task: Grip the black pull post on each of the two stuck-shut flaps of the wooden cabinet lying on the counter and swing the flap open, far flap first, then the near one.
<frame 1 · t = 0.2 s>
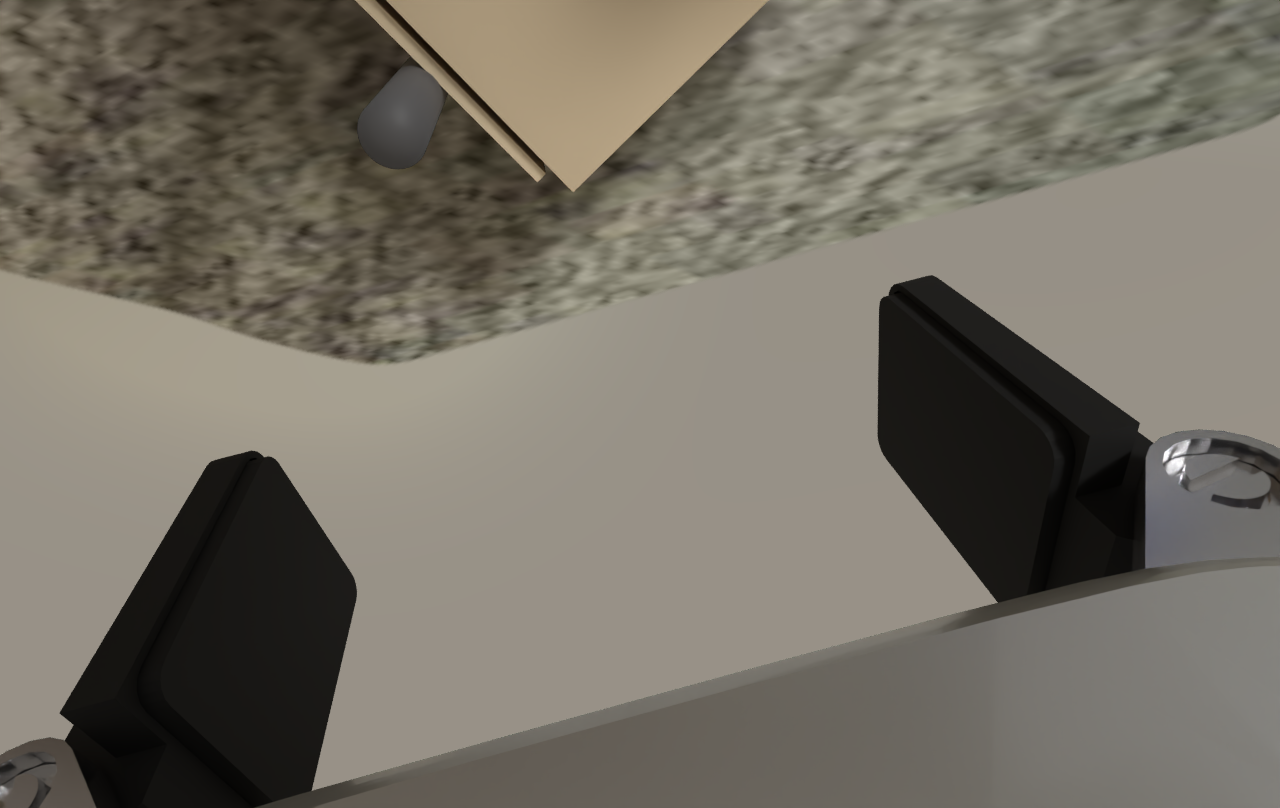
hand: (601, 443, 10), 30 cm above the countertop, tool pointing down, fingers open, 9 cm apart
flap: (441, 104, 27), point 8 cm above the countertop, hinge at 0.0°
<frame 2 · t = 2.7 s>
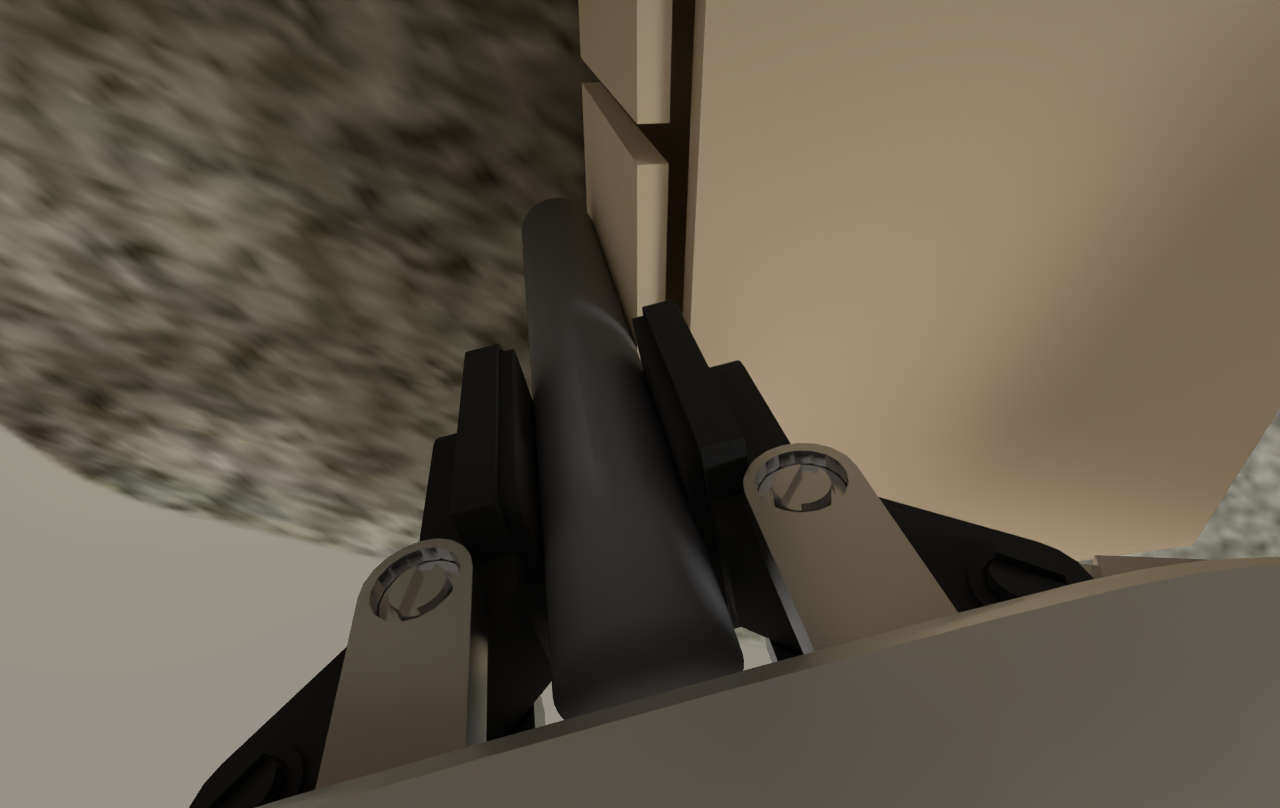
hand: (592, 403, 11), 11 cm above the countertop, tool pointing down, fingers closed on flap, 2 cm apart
wooden cabinet: (852, 62, 19), on the countertop
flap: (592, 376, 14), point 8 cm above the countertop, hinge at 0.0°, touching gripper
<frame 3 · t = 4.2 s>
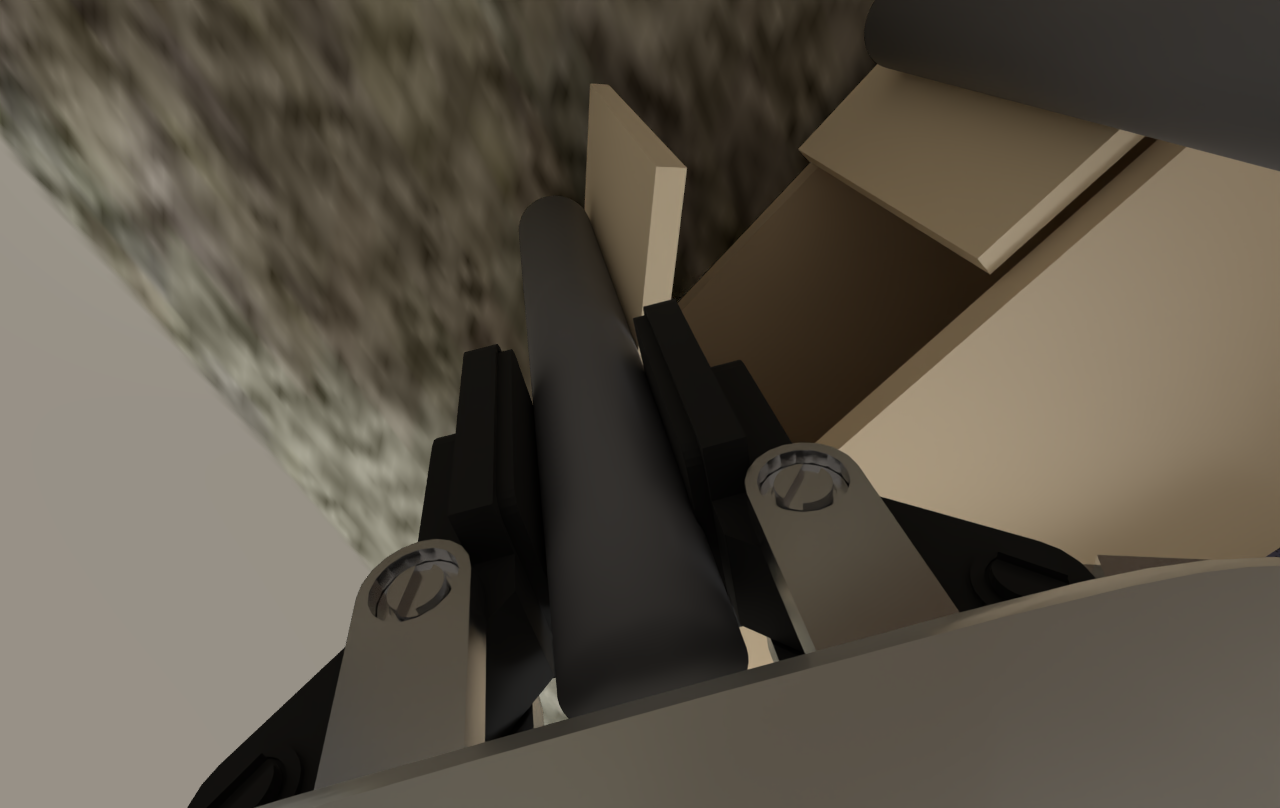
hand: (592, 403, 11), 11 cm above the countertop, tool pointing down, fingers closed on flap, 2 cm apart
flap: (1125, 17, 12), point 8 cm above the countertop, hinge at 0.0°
wooden cabinet: (919, 300, 24), on the countertop
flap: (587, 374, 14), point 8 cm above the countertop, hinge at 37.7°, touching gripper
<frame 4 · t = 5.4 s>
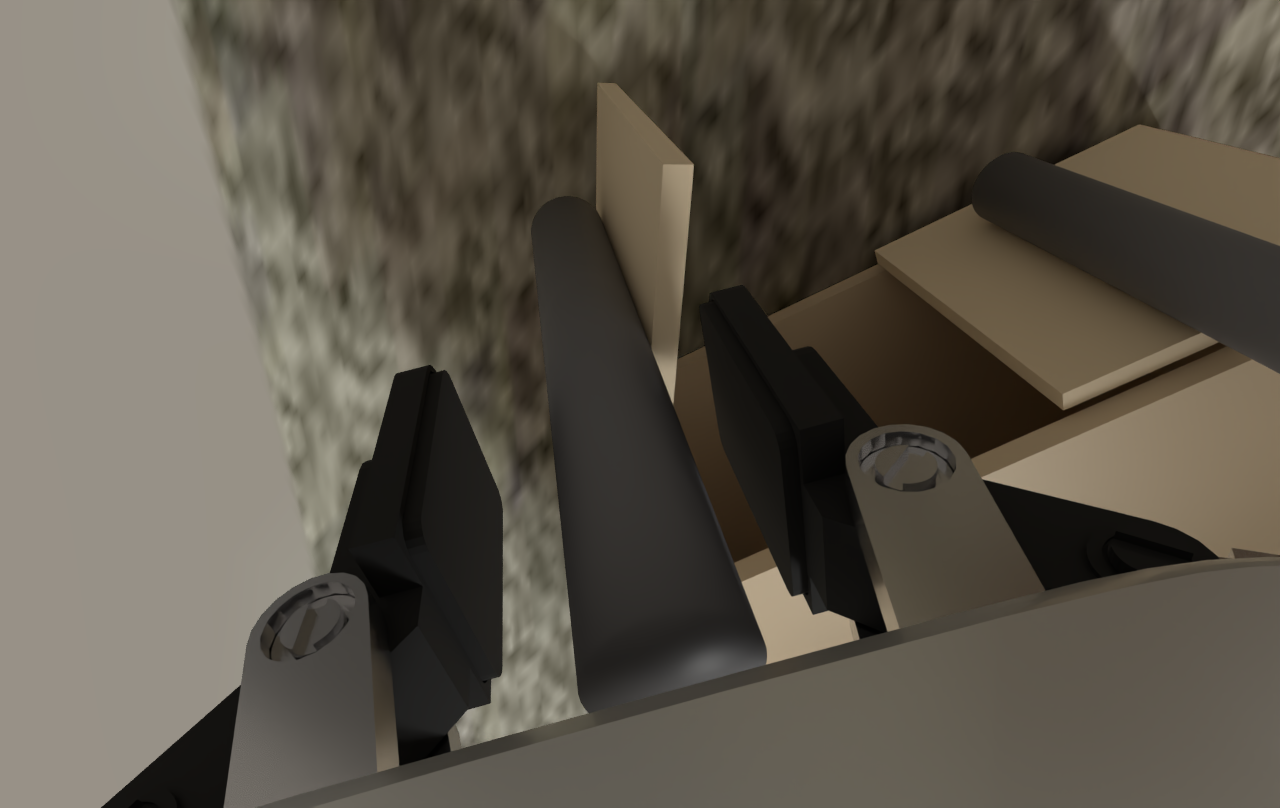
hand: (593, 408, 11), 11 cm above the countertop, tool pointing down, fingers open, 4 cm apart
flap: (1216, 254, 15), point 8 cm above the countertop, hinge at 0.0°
wooden cabinet: (901, 416, 27), on the countertop
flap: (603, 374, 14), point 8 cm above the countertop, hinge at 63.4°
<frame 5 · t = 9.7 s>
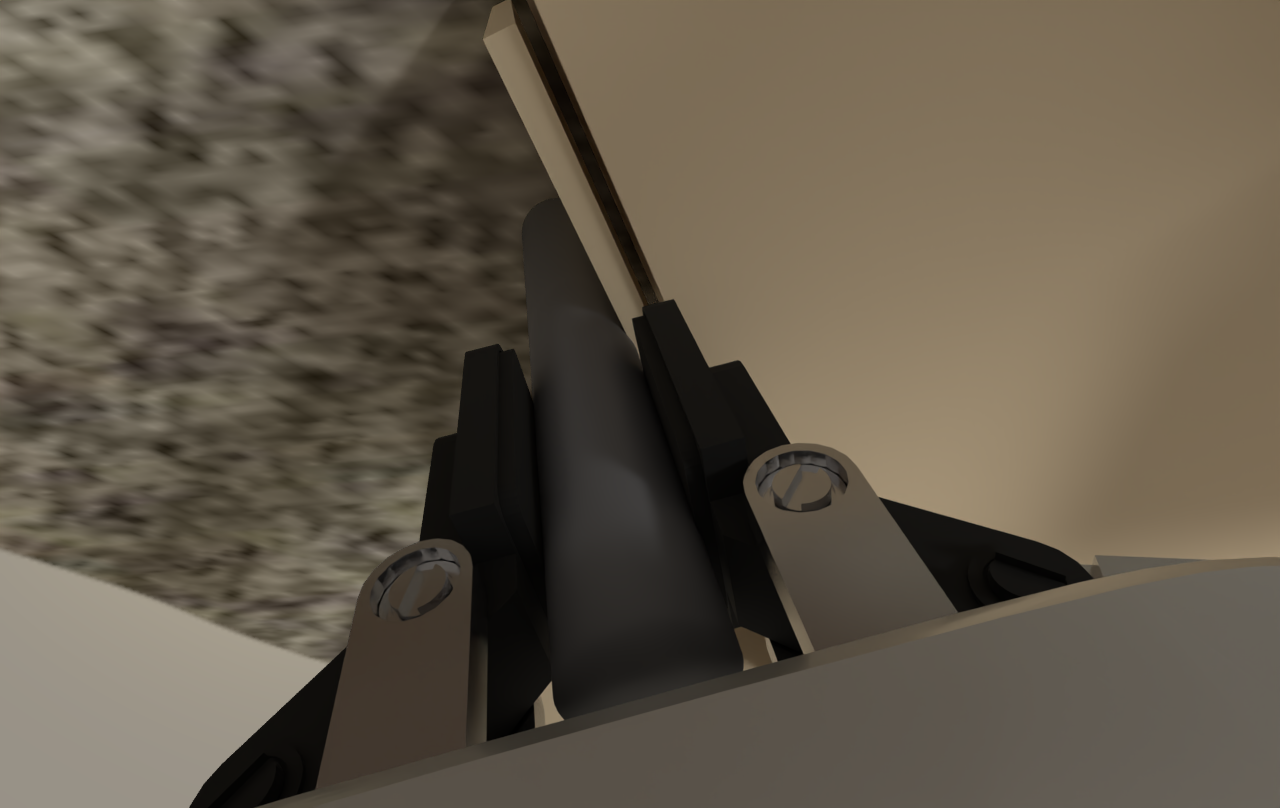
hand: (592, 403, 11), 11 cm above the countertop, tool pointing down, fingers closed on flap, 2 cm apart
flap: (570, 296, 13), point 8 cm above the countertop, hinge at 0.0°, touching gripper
wooden cabinet: (853, 204, 22), on the countertop
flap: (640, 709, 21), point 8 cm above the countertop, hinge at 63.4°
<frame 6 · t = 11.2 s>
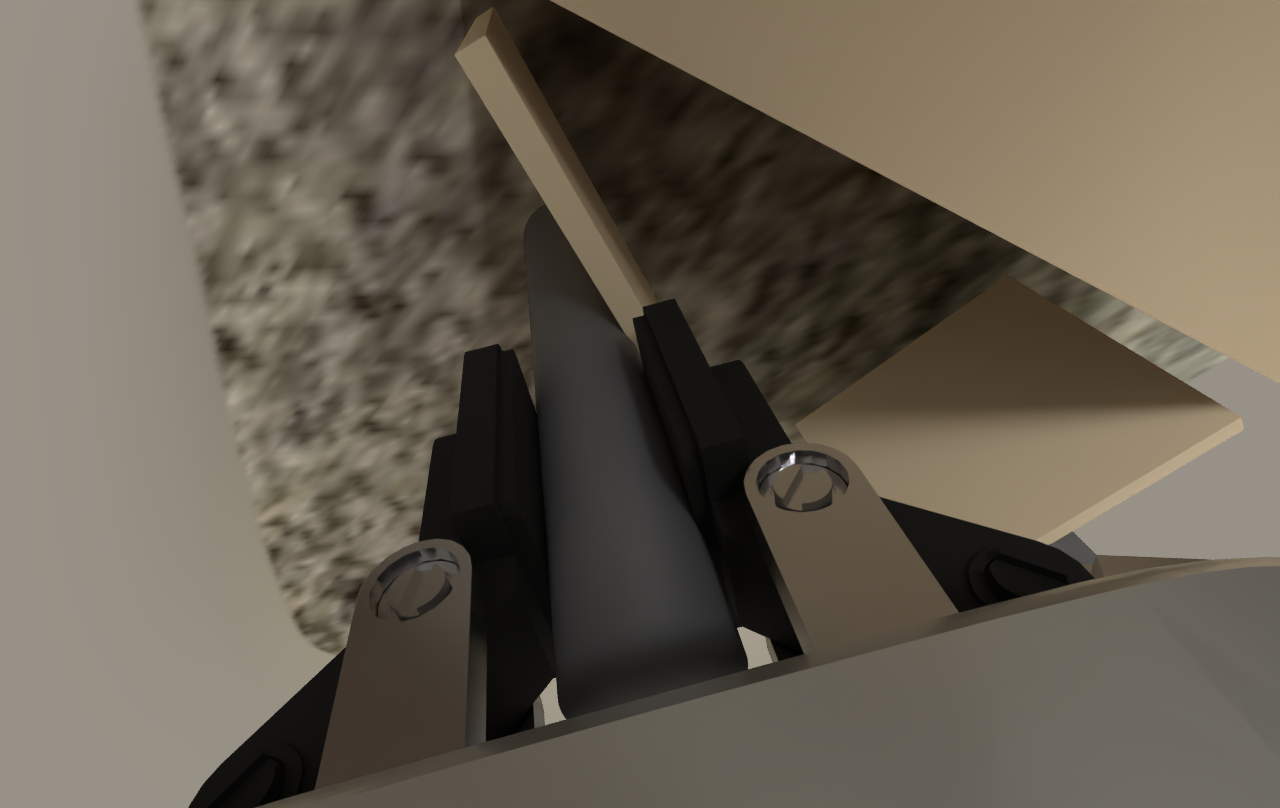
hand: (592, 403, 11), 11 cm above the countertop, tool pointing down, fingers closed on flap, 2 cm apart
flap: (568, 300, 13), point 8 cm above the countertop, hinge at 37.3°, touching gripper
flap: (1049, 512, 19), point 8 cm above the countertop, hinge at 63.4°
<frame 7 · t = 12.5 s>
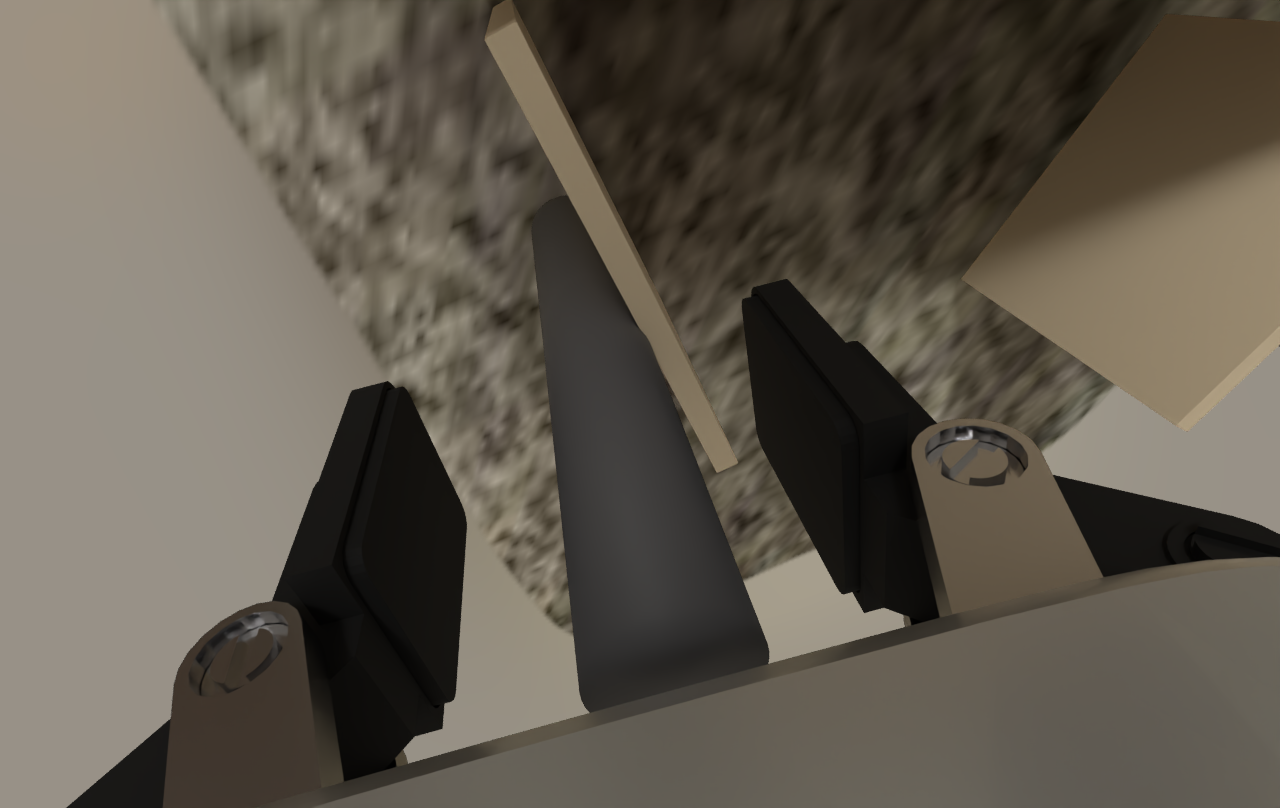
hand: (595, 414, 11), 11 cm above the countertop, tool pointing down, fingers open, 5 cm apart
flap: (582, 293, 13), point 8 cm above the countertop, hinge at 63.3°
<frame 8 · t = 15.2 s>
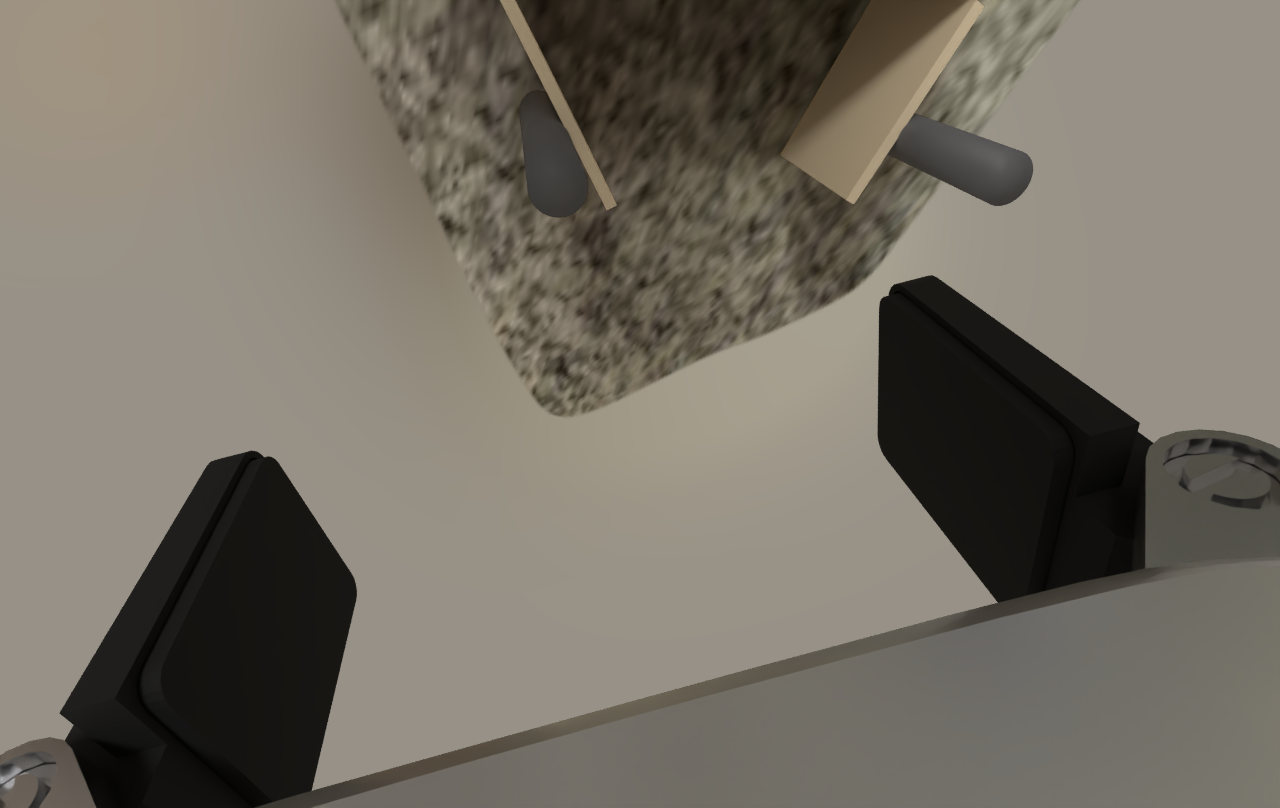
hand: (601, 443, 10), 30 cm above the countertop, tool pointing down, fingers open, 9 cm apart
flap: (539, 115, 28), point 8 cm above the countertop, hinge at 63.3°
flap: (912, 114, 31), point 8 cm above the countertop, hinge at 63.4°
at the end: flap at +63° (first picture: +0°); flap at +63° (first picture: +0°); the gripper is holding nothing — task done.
